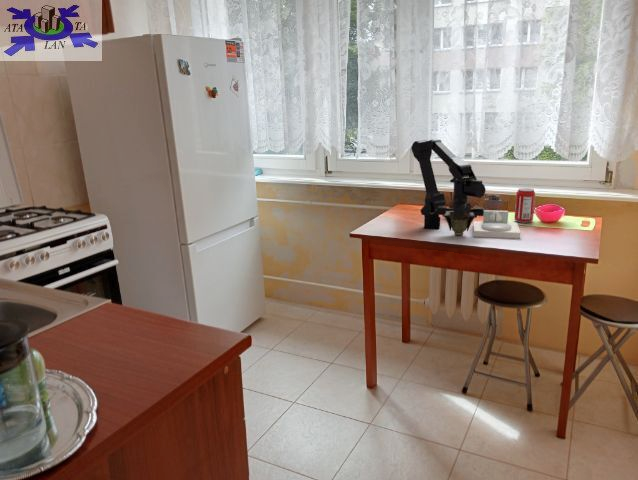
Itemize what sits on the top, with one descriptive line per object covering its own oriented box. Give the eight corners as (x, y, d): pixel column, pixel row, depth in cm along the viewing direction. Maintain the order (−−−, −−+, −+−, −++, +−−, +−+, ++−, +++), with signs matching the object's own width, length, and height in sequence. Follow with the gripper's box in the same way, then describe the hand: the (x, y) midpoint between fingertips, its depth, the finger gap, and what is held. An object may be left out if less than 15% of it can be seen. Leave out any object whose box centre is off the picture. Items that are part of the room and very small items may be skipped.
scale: (473, 236, 203) (474, 218, 201) (473, 226, 218) (474, 209, 215) (520, 238, 198) (521, 220, 196) (516, 228, 213) (517, 211, 210)
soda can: (523, 224, 217) (526, 191, 213) (510, 220, 224) (512, 188, 220) (536, 222, 220) (539, 189, 216) (523, 218, 227) (525, 186, 223)
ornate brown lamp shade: (468, 237, 201) (469, 219, 199) (450, 237, 203) (451, 219, 200) (467, 233, 208) (468, 214, 206) (449, 232, 210) (450, 214, 207)
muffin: (475, 220, 227) (476, 199, 224) (451, 221, 227) (452, 200, 225) (468, 214, 239) (469, 194, 236) (445, 215, 239) (446, 195, 236)
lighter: (501, 214, 235) (503, 194, 233) (500, 216, 233) (501, 195, 230) (484, 213, 240) (485, 193, 237) (482, 214, 237) (484, 194, 234)
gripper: (436, 197, 196) (435, 235, 200) (485, 198, 190) (482, 237, 195) (437, 192, 206) (436, 227, 210) (484, 193, 201) (482, 229, 205)
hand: (458, 230), depth 205 cm, fingers closed on ornate brown lamp shade, 6 cm apart
